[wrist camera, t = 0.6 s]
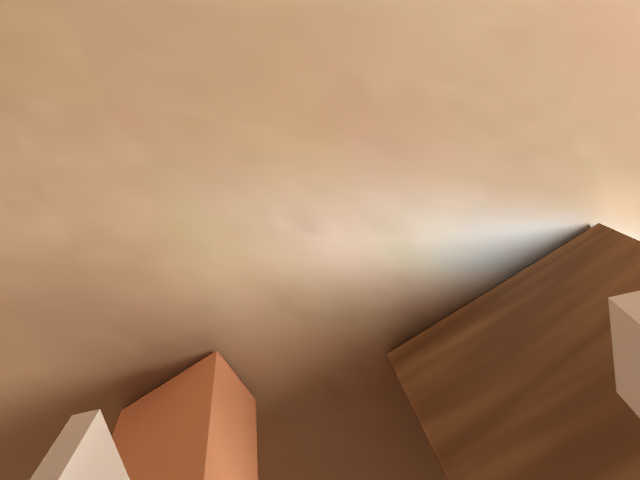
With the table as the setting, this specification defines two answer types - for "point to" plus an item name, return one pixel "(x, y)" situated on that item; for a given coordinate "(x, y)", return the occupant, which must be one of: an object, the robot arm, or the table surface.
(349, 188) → the table surface
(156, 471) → the tall salmon pillar block
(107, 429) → the robot arm
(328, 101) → the table surface
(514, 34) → the table surface
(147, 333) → the table surface
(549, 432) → the tip box
